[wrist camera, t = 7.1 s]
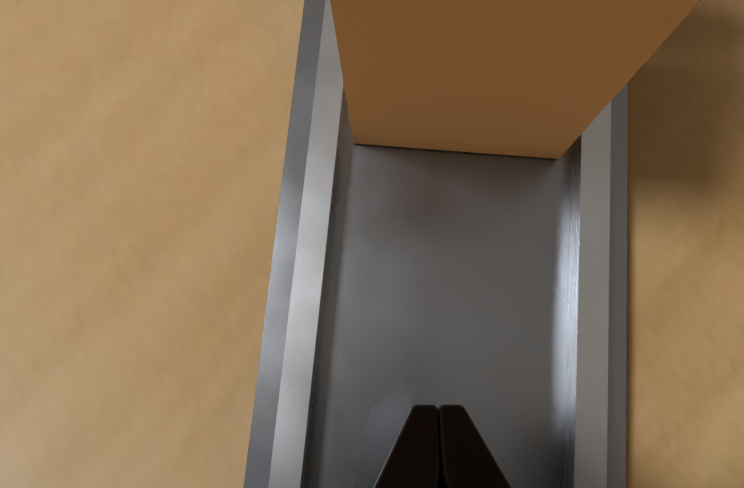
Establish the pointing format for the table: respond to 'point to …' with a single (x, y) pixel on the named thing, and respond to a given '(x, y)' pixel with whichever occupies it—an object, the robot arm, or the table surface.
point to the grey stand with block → (440, 297)
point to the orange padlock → (491, 68)
